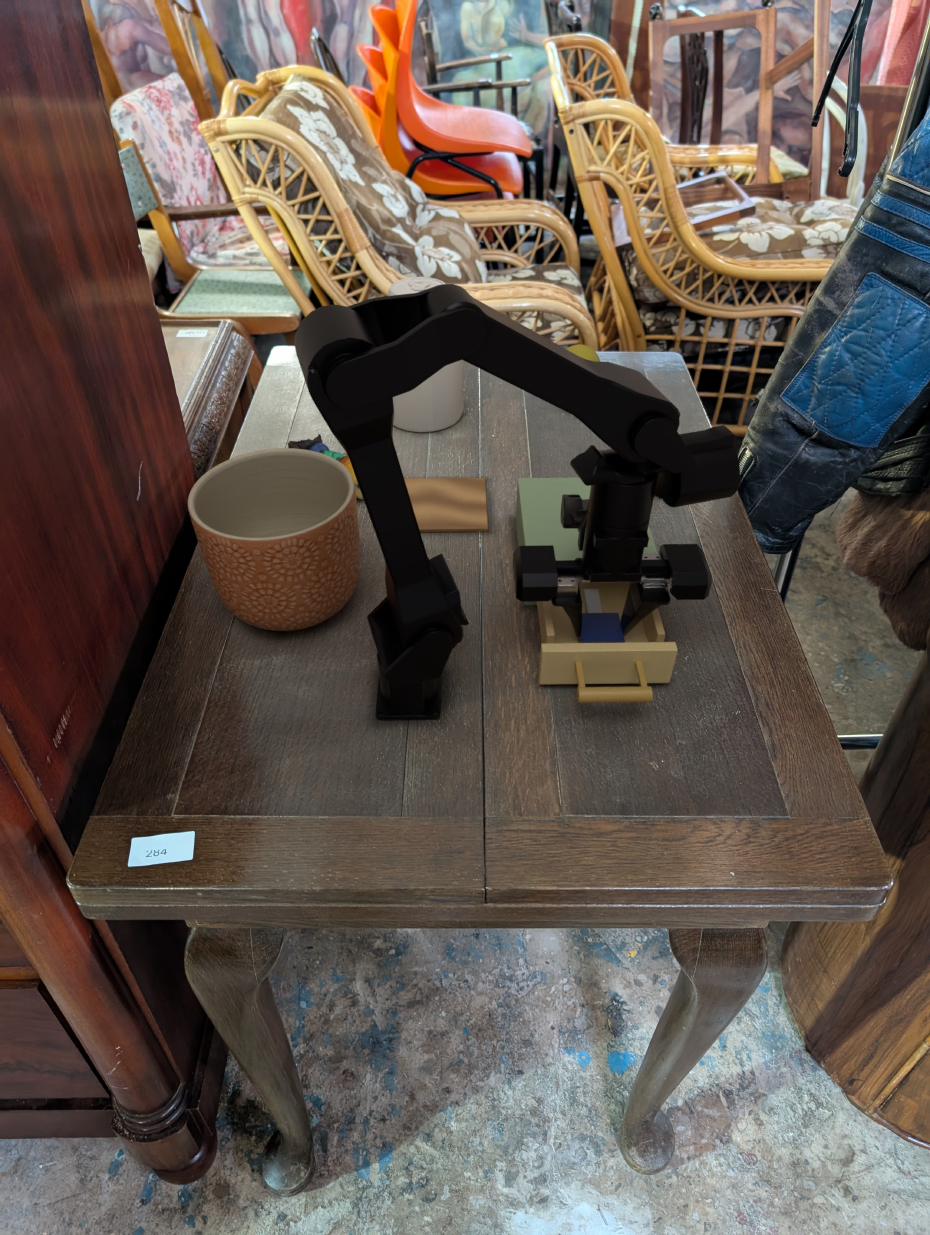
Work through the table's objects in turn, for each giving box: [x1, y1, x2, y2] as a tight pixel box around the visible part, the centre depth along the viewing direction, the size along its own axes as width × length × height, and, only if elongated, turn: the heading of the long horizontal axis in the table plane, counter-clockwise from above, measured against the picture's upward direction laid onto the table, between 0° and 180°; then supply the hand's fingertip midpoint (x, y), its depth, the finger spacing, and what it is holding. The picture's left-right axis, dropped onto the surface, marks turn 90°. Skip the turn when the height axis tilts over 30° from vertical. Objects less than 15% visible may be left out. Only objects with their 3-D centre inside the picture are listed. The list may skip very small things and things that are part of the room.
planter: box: [187, 447, 361, 632], centre depth 87 cm, size 17×17×15 cm
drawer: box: [536, 582, 679, 704], centre depth 84 cm, size 20×13×5 cm, turn 1°
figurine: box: [287, 432, 364, 501], centre depth 107 cm, size 11×8×6 cm, turn 41°
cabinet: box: [515, 477, 658, 606], centre depth 95 cm, size 17×15×7 cm
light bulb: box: [566, 343, 601, 362], centre depth 123 cm, size 7×7×10 cm
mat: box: [404, 477, 489, 533], centre depth 106 cm, size 12×12×1 cm
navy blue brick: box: [578, 589, 625, 643], centre depth 86 cm, size 10×4×2 cm, turn 1°
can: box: [387, 276, 465, 433], centre depth 118 cm, size 12×12×20 cm
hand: (600, 633), depth 84 cm, fingers closed on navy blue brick, 4 cm apart
